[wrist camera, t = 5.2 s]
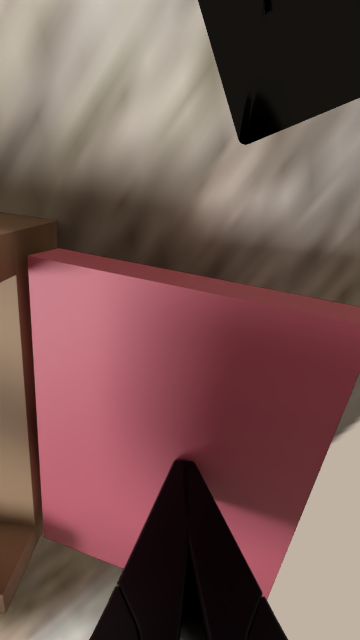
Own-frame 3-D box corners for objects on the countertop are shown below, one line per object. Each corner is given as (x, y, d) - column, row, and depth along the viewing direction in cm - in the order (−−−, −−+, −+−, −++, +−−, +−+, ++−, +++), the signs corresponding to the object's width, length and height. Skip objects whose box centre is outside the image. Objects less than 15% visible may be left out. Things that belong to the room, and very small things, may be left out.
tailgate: (27, 255, 7) (378, 327, 6) (75, 244, 9) (353, 296, 8) (43, 537, 11) (257, 622, 10) (75, 490, 13) (260, 556, 12)
